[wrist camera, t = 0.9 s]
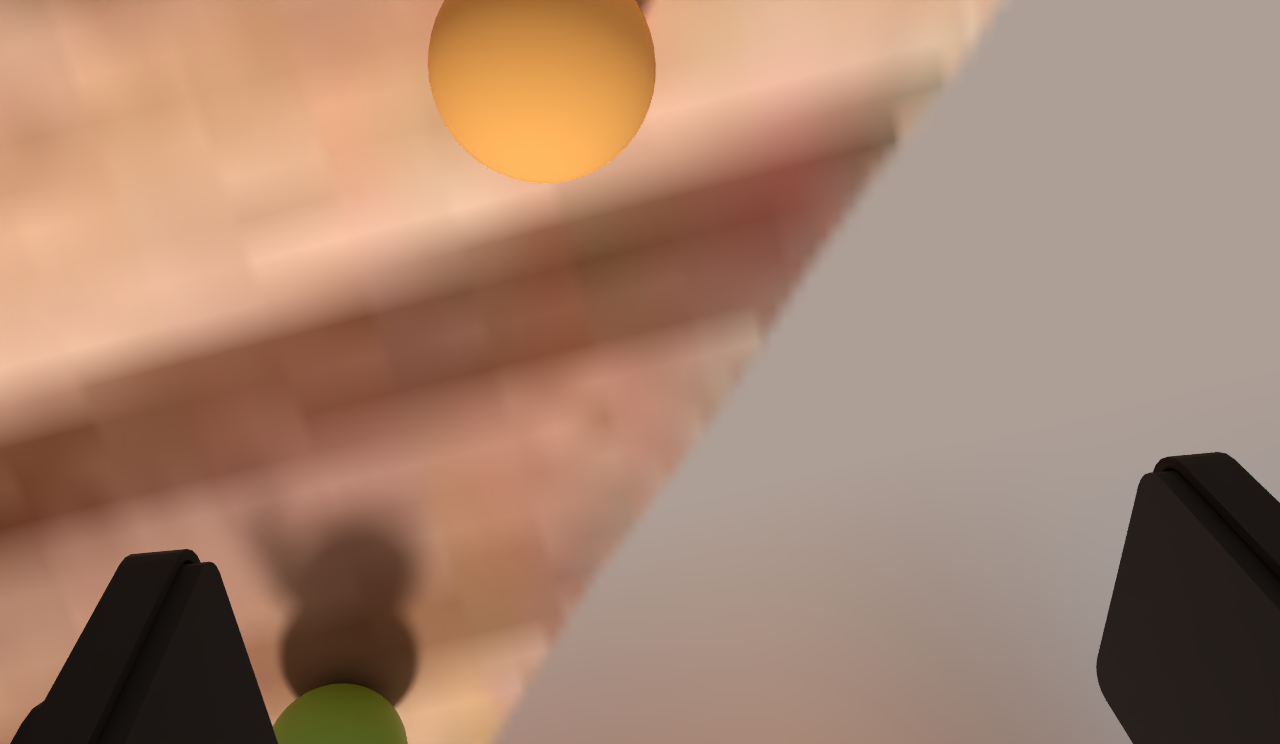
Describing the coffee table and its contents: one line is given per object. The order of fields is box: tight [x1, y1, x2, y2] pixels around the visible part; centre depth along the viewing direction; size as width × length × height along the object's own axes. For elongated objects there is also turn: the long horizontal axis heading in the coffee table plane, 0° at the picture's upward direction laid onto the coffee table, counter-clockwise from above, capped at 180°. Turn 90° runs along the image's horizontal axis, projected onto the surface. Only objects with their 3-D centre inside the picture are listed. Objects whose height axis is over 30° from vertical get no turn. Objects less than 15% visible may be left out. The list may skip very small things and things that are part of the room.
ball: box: [428, 0, 656, 183], centre depth 27 cm, size 6×6×6 cm
